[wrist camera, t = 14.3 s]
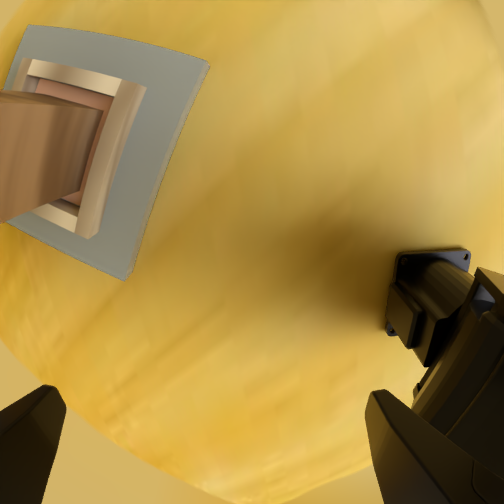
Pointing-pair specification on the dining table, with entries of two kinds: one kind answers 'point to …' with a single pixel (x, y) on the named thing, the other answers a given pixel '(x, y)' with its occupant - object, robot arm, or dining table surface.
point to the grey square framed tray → (108, 136)
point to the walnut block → (42, 149)
